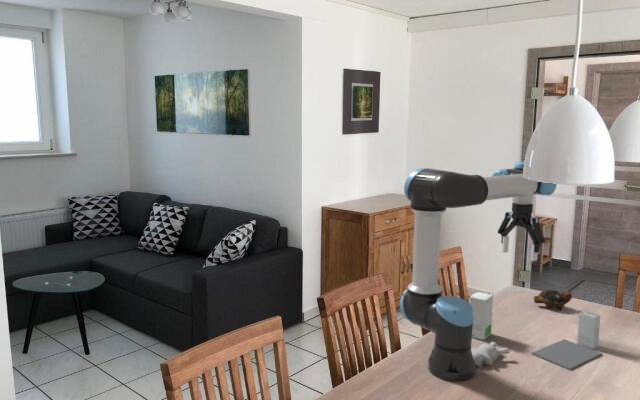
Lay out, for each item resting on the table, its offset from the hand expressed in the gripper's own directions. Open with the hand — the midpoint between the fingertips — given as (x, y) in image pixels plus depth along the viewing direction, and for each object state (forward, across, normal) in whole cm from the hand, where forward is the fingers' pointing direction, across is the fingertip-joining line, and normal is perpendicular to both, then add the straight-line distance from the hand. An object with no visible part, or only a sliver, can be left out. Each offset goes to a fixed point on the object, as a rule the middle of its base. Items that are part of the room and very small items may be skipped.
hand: (519, 256), depth 208 cm
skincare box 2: (+28, -26, -7) cm, 39 cm away
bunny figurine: (+28, -16, +34) cm, 47 cm away
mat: (+28, -27, +6) cm, 40 cm away
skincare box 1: (+28, 0, +20) cm, 35 cm away
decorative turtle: (+28, +4, -29) cm, 41 cm away
